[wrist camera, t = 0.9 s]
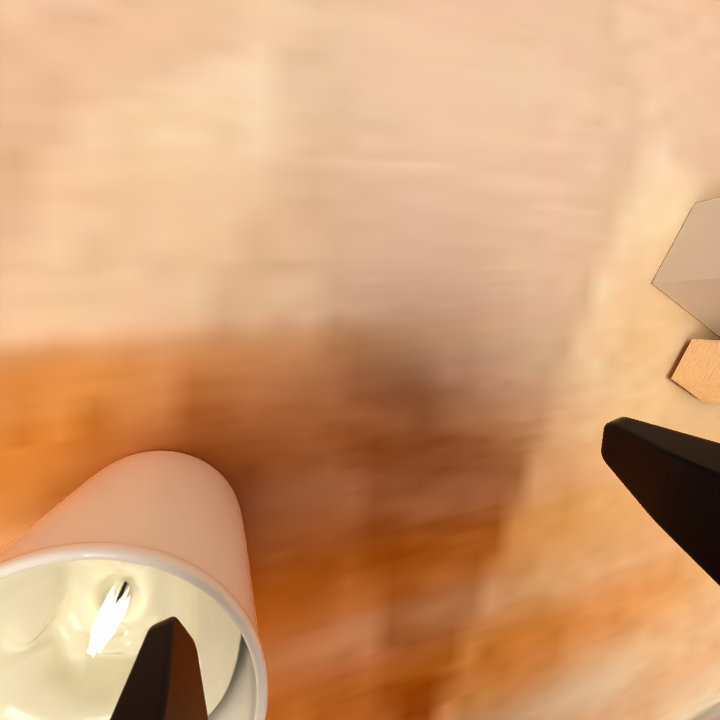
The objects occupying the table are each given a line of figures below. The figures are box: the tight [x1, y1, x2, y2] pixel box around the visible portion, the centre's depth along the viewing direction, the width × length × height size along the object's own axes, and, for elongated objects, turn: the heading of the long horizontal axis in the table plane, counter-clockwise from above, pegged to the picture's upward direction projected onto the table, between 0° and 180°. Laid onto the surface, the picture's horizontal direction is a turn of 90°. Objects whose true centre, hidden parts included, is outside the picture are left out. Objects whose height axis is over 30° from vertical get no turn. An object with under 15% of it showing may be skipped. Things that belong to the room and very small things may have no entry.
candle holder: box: [0, 451, 268, 720], centre depth 18 cm, size 10×10×12 cm
